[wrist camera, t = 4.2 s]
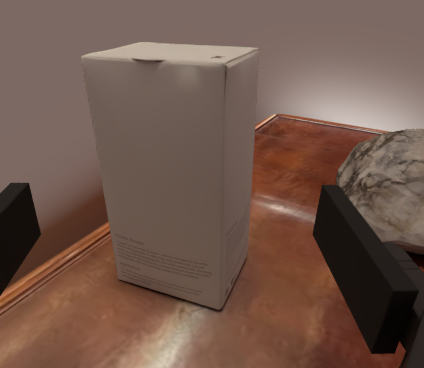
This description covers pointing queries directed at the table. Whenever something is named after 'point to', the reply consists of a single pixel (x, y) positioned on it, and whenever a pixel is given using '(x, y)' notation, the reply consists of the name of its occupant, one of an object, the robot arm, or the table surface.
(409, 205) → the decorative stone
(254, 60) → the cosmetic box
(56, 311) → the table surface
